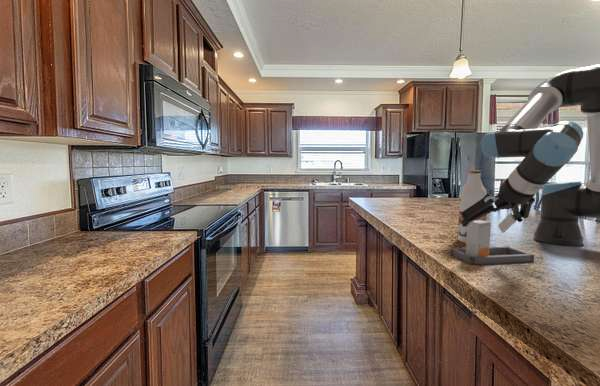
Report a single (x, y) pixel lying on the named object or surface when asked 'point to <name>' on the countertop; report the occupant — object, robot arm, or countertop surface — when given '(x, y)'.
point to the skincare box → (478, 239)
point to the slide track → (514, 257)
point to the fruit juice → (471, 197)
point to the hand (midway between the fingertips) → (481, 229)
